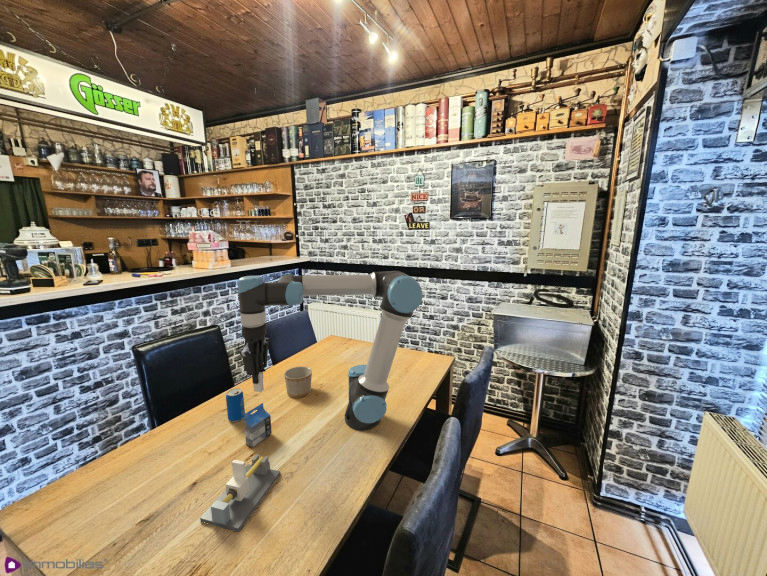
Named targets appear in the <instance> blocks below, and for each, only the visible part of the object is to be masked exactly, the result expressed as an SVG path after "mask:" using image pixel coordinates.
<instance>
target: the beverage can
mask: <svg viewBox="0 0 767 576" xmlns="http://www.w3.org/2000/svg"><path fill="white" fill-rule="evenodd" d="M244 398H245V397H244V392H243V390H242V388H237V387H236V388H232V389H230V390H228V391H227V392H226V395H225V402H226V413H227V419H228V421H230V422H232V423H233V422H234V423H236V422H240V421H241V420H243V419H244V414H245V413H246V411H245V410H246V409H245V399H244Z"/></svg>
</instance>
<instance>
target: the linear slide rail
mask: <svg viewBox="0 0 767 576" xmlns="http://www.w3.org/2000/svg"><path fill="white" fill-rule="evenodd" d="M270 465H271V464H270V460H269V456H264V457H263V456H260V454H255V455H254V456H253V458H252V459H251V464H249V463H248V464H247V465H245V467H246V477H247V478H248V484H249V492H248V493H247V494H246V496H245V497H244V498H243V499H242V501H237V500H233V499H234V498H235V497H236V495H237V490H235V489H231V490H230V491H229V492H228V493H226V489H225V490H223V491H222V493H221V494H220V495H219V496H218V497H217V499H215V501H214V502H213V503H212V504H211V505H210V506H209V507H208V509H207V510H206V511H205V512H204V513H203V514H202V515H201V516H200V518H199V519H200V520H199V521H200V522H201V523H204V522H205V524H207V523H208V525H212V526H215V527H219V528H221V529H226V530H229V531H233V532H236V533H239V532H240V531H241V530H242V528H243V527H244V525H246V523H247V522H248V520H249V518H250V517H251V516H252V514H253V513H254V512H255V511H256V509H257V508H258V506H259V505H260V503H262V501H263V499H264V498H265V496H266V495H267V494H268V492H269V491H270V490H271V489H272V487H273V486H274V484H275V483H276V482H277V481H278V478H279V477H280V476H281V470H278V469H277V470H276V469H271V466H270Z"/></svg>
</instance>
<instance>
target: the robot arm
mask: <svg viewBox="0 0 767 576" xmlns="http://www.w3.org/2000/svg"><path fill="white" fill-rule="evenodd" d="M422 289H423V288H422V286H421V285H420V284H419V282H418V281H417V280H416V279H415V278H413V277H412V276H410V275H408V274H406V273H405V272H402V271H399V270H390V271H389V270H386V271H373V272H371V273H370V274H330V275H329V274H320V275H318V274H317V275H315V274H313V275H312V274H311V275H308V274H307V275H304V274H303V275H294V274H292V273H288V274H284V275H282V276H280V278H279V279H278V281H277V282H265V280H264V278H263V276H261V275H246V276H242V277H240V278H239V279H238V280H237V295H238V303H239V313H240V323H241V326H240V329H241V337H242V338H243V339H244V348H243V349H242V350H241V349H240V350H239V355H240V356H241V357H242V362H243V365H244V369H245V372H246V375H248V376H252V377H251V379H252V384H253V391H254V392H258V393H262V392H263V391H264V390H265V389H264V373H265V372H266V371H267V369H266V368H267V367H268V366H267V365H268V355H269V345H270V342H271V338H270V337H266V336H267V333H268V332H267V331H268V328H267V323H266V322H267V316H266V307H267V306H268V307H269V306H271V307H274V306H275V307H276V306H291V307H293V306H295V305H302V303H303V301H304V299H303V298H304V297H306V296H307V297H309V296H310V297H311V296H314V297H316V296H319V297H320V296H322V297H323V296H360V295H363V296H364V295H371V296H372V297H373V298H381V302H380V306H379V309H380V311H381V313H382V314H381V317H380V320H379V324H378V327H377V330H376V334H375V337H374V340H373V343H372V346H371V350H370V353H369V357H368V360H367V363H366V364H357V365H354V366H351V367H350V368H349V369H348V374H347V377H348V403H347V406H346V409H345V412H344V422H345V424H346V426H348V427H349V428H351V429H353V430H357V431H366V430H367V431H368V430H370V429H374V428H375V427H377V426H378V425H379V424H380V422H381V420H382V419H383V417H384V416H385V414H386V412H387V402H386V398H387V395H388V393H389V389H390V385H389V383H388V378H389V375H390V372H391V368H392V365H393V362H394V359H395V356H396V353H397V349H398V345H399V343H400V341H401V337H402V334H403V331H404V327H405V325H406V321H408V320H410V319H411V318H412V317H413V315H414V311H416V310H417V309H418V308H419V306H420V305H421V304H422V301H423V290H422Z"/></svg>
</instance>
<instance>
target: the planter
mask: <svg viewBox="0 0 767 576" xmlns="http://www.w3.org/2000/svg"><path fill="white" fill-rule="evenodd" d="M312 373H313V372H312V369H311V368H309V367H308V366H295V367H291V368H289V369H287V370H285V372H284V374H283V377H284V380H285V381H284V382H285V388H286V389H285V390H286V394H287V395H288V396H289V397H291V398H297V399H299V398H303V397H306V396H307V395H309V394H310V393H311V390H312V375H313V374H312Z"/></svg>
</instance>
